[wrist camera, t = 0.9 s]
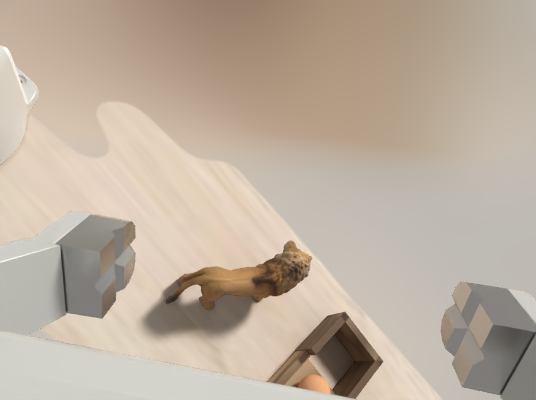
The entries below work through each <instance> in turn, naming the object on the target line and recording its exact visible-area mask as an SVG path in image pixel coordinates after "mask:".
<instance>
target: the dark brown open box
mask: <svg viewBox="0 0 536 400" xmlns="http://www.w3.org/2000/svg"><path fill="white" fill-rule="evenodd" d="M334 334H335V335H336V337H337V338H338V339H339V341H340V342H341V343H342V345H343V346H344V347H345V348H346V350H347V351H348V352H349V354H350V355H351V356H352V358H353V359H354V360H355V362H354V364H353V365H352V366H351V367H350V369H349V370H348V371H347V372H346V373H345V375H344V376H343V377H342V378H341V380H340V381H339V382H338V383H337V385H336V386H335V387H334V388H333V390H332V391H333V392H334V394H339V395H340V396H342V397H348V398H353V399H356V397H357V396H358V395H359V393H360V392H361V391H362V389H363V388H364V387H365V385H366V384H367V383H368V381H369V380H370V379H371V377H372V376H373V375H374V373H375V372H376V371H377V369H378V368H379V367H380V365H381V364H382V363H383V360H382V359H381V358H380V356H379V355H378V354H377V353H376V351H375V350H374V349H373V347H372V346H371V345H370V343H369V342H368V341H367V340H366V338H365V337H364V336H363V334H362V333H361V332H360V330H359V329H358V328H357V327H356V325H355V324H354V323H353V321H352V320H351V319H350V318H349V316H348V315H347V314H346V312H342V313H338V314H333V315H329V316H327V317H326V318H325V319H324V320H323V321H322V322H321V323H320V324H319V325H318V327H317V328H316V329H315V330H314V331H313V332H312V333H311V334H310V335H309V336H308V337H307V338H306V339H305V340H304V341H303V342H302V343H301V345H300V346H299V347H298V348H297V349H296V351H303V350H306V351H307V352H308V354H309V355H316V354H317V353H318V352H319V351H320V350H321V348H322V347H323V346H324V345H325V344H326V343H327V342H328V341H329V340H330V338H331V337H332V336H333V335H334Z"/></svg>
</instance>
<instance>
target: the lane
mask: <svg viewBox="0 0 536 400" xmlns="http://www.w3.org/2000/svg"><path fill="white" fill-rule="evenodd" d="M309 357H310V355H309V354H308V352H307V351H306V350H303V351H296V352H295V353H294V354H293V355H292V356H291V357H290V358H289V359H288V360H287V361H286V362H285V363H284V364H283V365H282V367H281V368H280V369H279V370H278V371H277V372H276V373H275V374H274V375H273V376H272V377H271V378H270V379H269V380H268V381H267V382H270V383H275V384H280V385H286V386H291V387H296V388H298V385H299V383H300V381H301V380H302V379H303V378H304V377H305V376H307V375H311V374H315V375H319V376H321V375H320V374H319V373H318V371H317V370H316V369H315V367H314V366H313V365H312V363H311V362H310V361H309V359H308V358H309ZM330 393H331V394H332V395H337V396H340V395H339V394H334V392H333V391H332V390H331V388H330Z"/></svg>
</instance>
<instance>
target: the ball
mask: <svg viewBox="0 0 536 400" xmlns="http://www.w3.org/2000/svg"><path fill="white" fill-rule="evenodd" d="M298 388H301V389H306V390H311V391H317V392H322V393H327V394H331V393H330V387H329V385H328V383H327V382H326V380H325V379H324V378H322V377H321V376H319V375H315V374H311V375H307V376H305V377H304V378H303V379H302V380H301V381H300V383H299V385H298Z"/></svg>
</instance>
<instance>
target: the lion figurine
mask: <svg viewBox="0 0 536 400" xmlns="http://www.w3.org/2000/svg"><path fill="white" fill-rule="evenodd" d="M311 260H312V256H309V255H308V254H305V253H304V252H302V251H300V250H299V249H297V248H296V245H295V242H293V241H291V240H290V241H288V242H287V243H286V244H285V245H284V250H283V253H282V254H277V255H275V257H274V258H273V259H270V260H268V261H266V262H265V263H264V264H259V265H257V266H256V267H245V268H240V269H235V270H232V271H230V270H226V269H223V268H220V267H209V268H208V267H206V268H203V269H201V270H199V271H197V272H194V273H190V274H184V275H183V276H182V277H180V278H179V279H178V283H179V285H181V287H180V288H179V289H178V290H177V291H176V293H175V294H174V295H172V296H170V297H169V298H168V299H167V300H166V304H169V303H171V302H173V301H175V300H176V299H177V298H178V296H179V295H180V294H181V293H182V292H183V291H184V290H185V289H187V288H188V287H190V286H192V285H196V284H198V285H199V286H201V292H202V295H203V296H202V297H200V298H199V301H200V302H201V303H202V304H203V306H204V308H206V309H208V310H212V309H213V308H214V305H215V303H214V301H215V300H217V299H218V298H220V297H221V296H222V295H223V294H232V295H236V296H253V297H254V299H255V300H256V301H261V300H262V299H263V298H266V297H268V296H270V295H271V296H279V295H282V294H283V293H287V292H288V291H290V289H292V288H294V287H295V286H296V285H297V283H299V282H300V281H302V280H303V279H304V278H305V277H307V276H308V271H309V270H310V261H311Z"/></svg>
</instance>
